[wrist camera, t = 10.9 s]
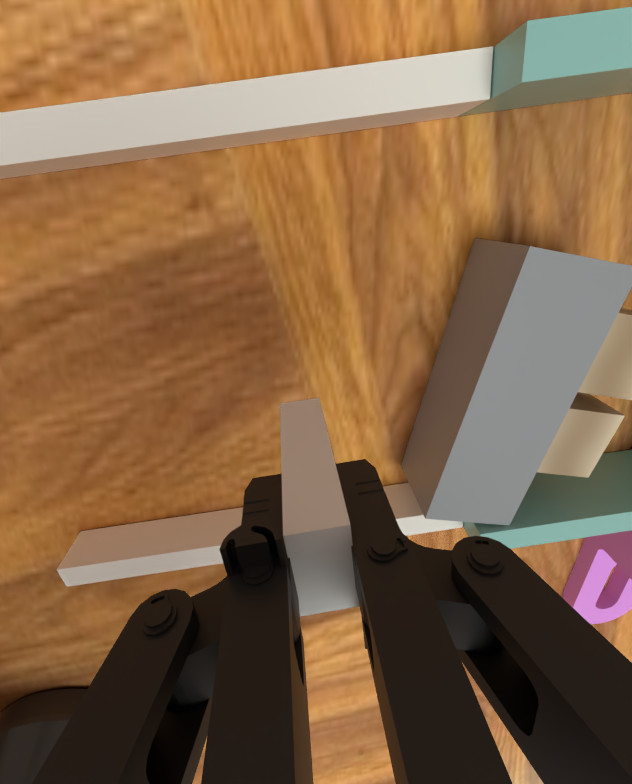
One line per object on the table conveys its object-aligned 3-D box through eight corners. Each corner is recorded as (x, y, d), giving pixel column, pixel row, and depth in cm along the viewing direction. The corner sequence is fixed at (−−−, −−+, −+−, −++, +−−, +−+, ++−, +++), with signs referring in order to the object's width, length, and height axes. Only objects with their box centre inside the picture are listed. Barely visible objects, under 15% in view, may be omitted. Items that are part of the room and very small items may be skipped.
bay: (445, 494, 26) (478, 553, 22) (459, 73, 16) (527, 21, 12) (647, 464, 26) (722, 516, 22) (787, 29, 16) (980, -40, 12)
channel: (89, 547, 26) (66, 586, 23) (-126, 152, 16) (-210, 141, 13) (444, 494, 26) (462, 527, 23) (457, 73, 16) (493, 46, 13)
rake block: (400, 463, 25) (425, 518, 21) (472, 237, 19) (530, 246, 15) (470, 470, 26) (509, 525, 21) (560, 254, 20) (641, 267, 15)
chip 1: (518, 360, 22) (563, 389, 19) (548, 292, 21) (603, 309, 17) (578, 370, 23) (633, 400, 19) (612, 304, 21) (679, 324, 18)
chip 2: (488, 432, 24) (523, 471, 21) (512, 375, 23) (555, 406, 19) (544, 438, 25) (588, 477, 21) (572, 383, 23) (624, 415, 20)
